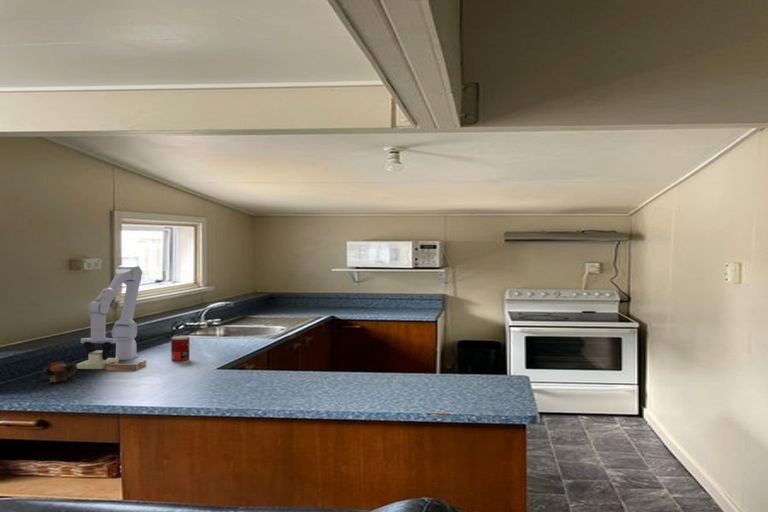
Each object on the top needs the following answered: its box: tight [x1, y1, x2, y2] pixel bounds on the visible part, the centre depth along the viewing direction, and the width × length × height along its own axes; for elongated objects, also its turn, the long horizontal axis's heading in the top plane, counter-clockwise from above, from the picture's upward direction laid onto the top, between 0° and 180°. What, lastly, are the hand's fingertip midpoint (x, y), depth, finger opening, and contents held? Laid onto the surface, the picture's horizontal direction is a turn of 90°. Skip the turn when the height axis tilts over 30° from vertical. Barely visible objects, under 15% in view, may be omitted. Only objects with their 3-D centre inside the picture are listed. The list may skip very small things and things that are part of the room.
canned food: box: [170, 335, 190, 362], centre depth 239 cm, size 8×8×11 cm
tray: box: [76, 357, 120, 370], centre depth 225 cm, size 13×11×2 cm
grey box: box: [87, 349, 109, 364], centre depth 226 cm, size 8×5×6 cm, turn 178°
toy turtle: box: [41, 361, 78, 383], centre depth 202 cm, size 12×10×8 cm
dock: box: [104, 359, 147, 372], centre depth 221 cm, size 10×13×3 cm
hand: (98, 359), depth 225 cm, fingers open, 6 cm apart
